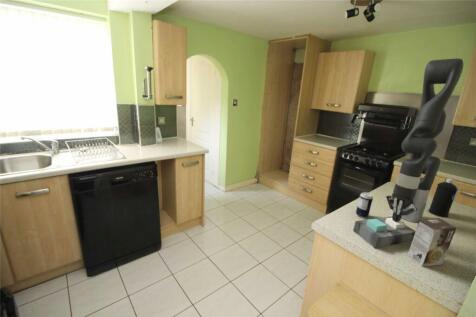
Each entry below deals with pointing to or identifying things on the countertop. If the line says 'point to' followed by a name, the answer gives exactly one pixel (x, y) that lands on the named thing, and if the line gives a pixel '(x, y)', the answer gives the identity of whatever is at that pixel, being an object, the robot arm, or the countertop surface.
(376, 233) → the key console
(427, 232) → the coffee box
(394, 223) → the cream key
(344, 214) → the countertop surface
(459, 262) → the countertop surface
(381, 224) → the teal key
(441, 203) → the aerosol can
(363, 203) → the beverage can
